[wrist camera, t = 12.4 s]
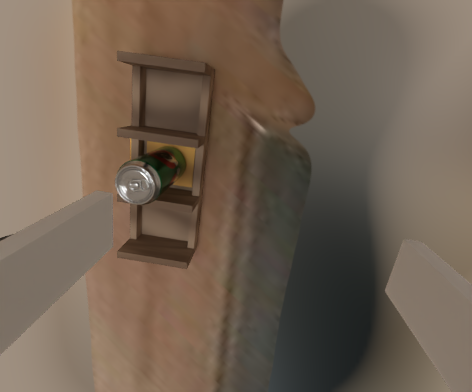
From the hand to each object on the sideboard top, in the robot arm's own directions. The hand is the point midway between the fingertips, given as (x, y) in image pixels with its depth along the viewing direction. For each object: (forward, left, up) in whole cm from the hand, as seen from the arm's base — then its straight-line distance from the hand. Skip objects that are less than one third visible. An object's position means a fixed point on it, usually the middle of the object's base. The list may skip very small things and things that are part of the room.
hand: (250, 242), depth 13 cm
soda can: (+10, -8, -28) cm, 31 cm away
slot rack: (+10, -8, -29) cm, 31 cm away
